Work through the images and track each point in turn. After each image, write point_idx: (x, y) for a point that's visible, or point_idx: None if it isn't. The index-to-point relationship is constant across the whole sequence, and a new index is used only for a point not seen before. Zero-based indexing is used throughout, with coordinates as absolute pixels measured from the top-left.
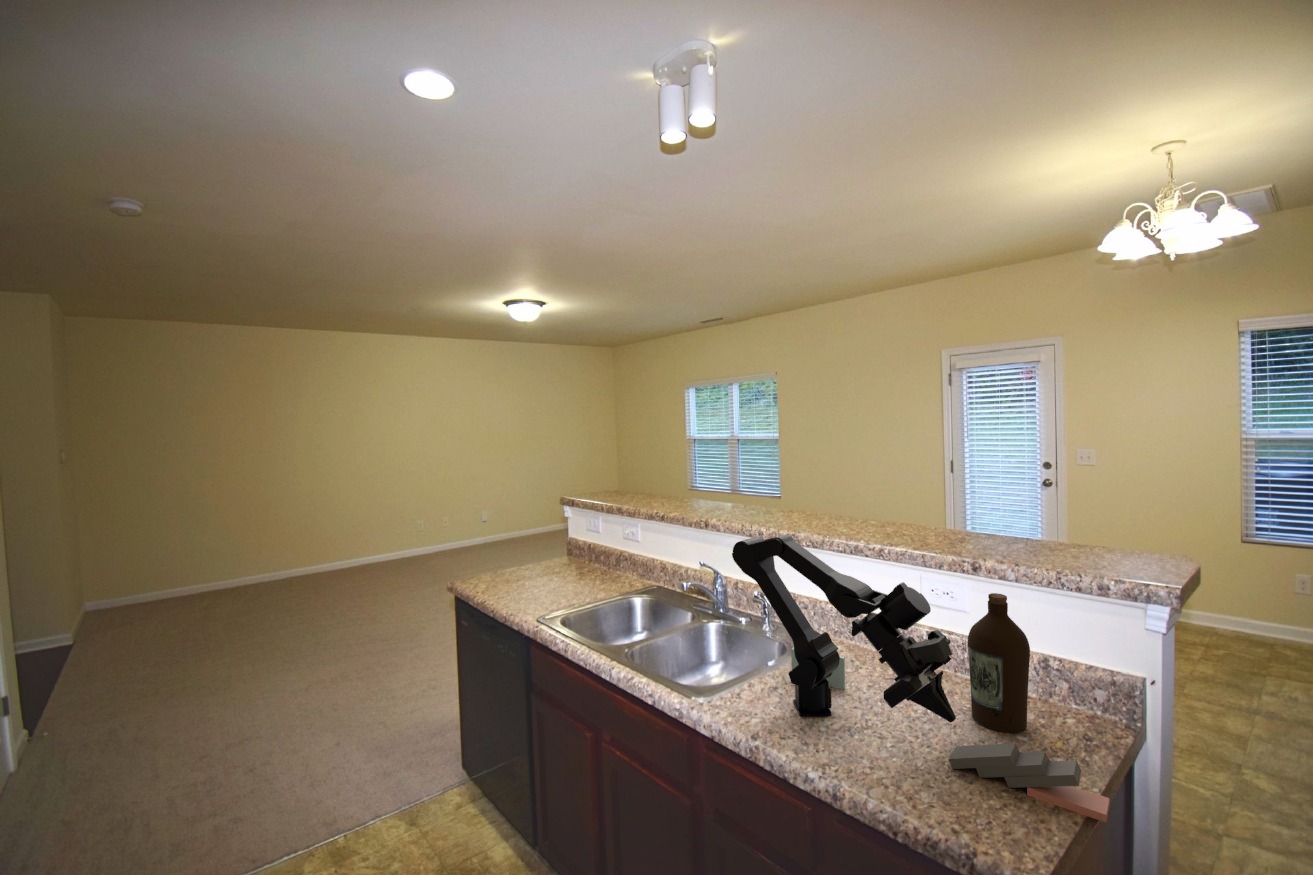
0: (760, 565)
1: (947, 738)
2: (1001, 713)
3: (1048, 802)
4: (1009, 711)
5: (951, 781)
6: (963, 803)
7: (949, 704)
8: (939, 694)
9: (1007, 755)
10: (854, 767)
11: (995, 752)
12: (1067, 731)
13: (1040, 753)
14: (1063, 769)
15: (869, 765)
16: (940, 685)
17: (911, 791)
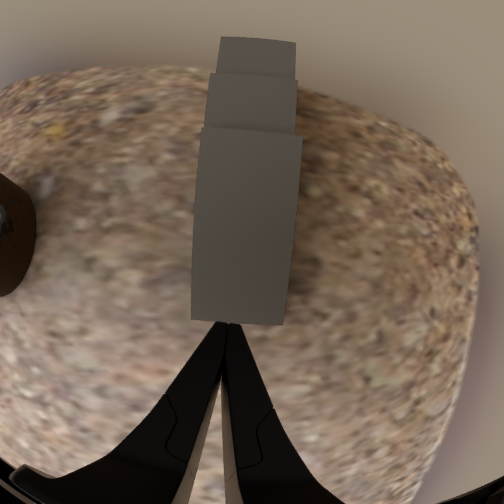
0: None
1: (119, 348)
2: (8, 213)
3: None
4: (4, 192)
5: (336, 302)
6: (397, 262)
7: (191, 366)
8: (197, 442)
9: (297, 144)
10: (381, 469)
11: (267, 183)
12: (15, 132)
13: (224, 82)
14: (266, 57)
15: (363, 458)
16: (131, 461)
17: (412, 360)
